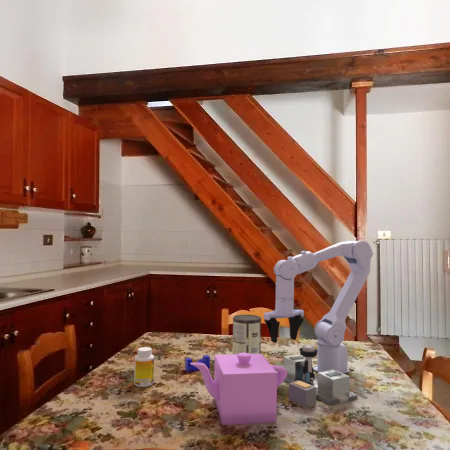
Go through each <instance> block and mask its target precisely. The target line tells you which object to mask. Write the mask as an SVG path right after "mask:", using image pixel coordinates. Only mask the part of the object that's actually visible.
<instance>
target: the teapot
mask: <svg viewBox="0 0 450 450" xmlns="http://www.w3.org/2000/svg"><path fill="white" fill-rule="evenodd" d="M190 364H191V365H193V366H195V367H197V368H198V369H199V370H198V371H200V373H201V375H202V379H203V382H204V386H205V389H206V390H207V393H208V394H209V395H210V396H211V397H212V398H213V399H214V402H215V406H216V409H217V412H218V416H219V418H220V422H221V425H222V426H228V425H229V426H230V425H248V424H251V425H252V424H268V423H277V407H278V406H277V402H278V399H277V397H278V395H277V394H278V387H280V386H281V384H282V383H283V382H285V381H284V380H285V378H286V377H287V373H288V372H287V370H286V369H285V368H284V367H283V366H281V365H276V364H275V365H274V364H270V362H269V361H268V360H267V358H266V357H265V356H264V355H263V354H262V353H261V354H249V353H239V354H233V353H232V354H215V355H214V379H213V378H212V375H211V373H210V372H211V371H210V370H209V369H210V368H208V367H207V366H206V365H205V364H203V363H198V362H197V361H196V362H193V363H190ZM277 372H278V375H277Z"/></svg>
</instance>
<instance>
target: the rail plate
mask: <svg viewBox="0 0 450 450" xmlns="http://www.w3.org/2000/svg"><path fill="white" fill-rule="evenodd" d="M282 358H283V360H282V367H284V368H285V369H286V370H287V372H288V373H287V377H286V378H285V380H284V381H283V382H286V383H288V384H289V383H292V382H295V381H298V380H300V381H302V382H305V383H307V382H306V380H305V379H304V378H303V367H304V364H305V358H304V357H303V356H302V355H300V353H297V354H291V355H285V356H282ZM276 373H277V375H278V372H277V371H276ZM350 378H351V376H350V375H348V374H347V373H341V372H339V371H336V370H329V371H324V372H317V374H315V379H314V383H307V384H310V385H312V386H315V387H316V400H317V399H318V400H319V401H321V402H323V403H324V404H326V405H328V406H333V405H337V404H342V403H345V402H348V401H353V400H357V399H359V398H358V397H359V396H358V394H357V393H355V392H353V391H351V390H350V383H351V382H350V381H351V379H350ZM303 379H304V380H303Z"/></svg>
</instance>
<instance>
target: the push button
mask: <svg viewBox="0 0 450 450" xmlns="http://www.w3.org/2000/svg"><path fill="white" fill-rule="evenodd" d="M298 350H299V355H302V356H303V357H304V358H305V364H304V367H303V378H304V379H305V380H306V382H307V383H314V379H315V375H316V374H315V372H314V371H315V370H314V368H313V367H314V366H313V358H315V357H317V352H318V350H317V348H315V346H314V345H311V344H303V345H302V347H300V348H299V349H298ZM304 379H303V380H304Z"/></svg>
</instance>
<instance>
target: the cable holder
mask: <svg viewBox="0 0 450 450" xmlns="http://www.w3.org/2000/svg"><path fill="white" fill-rule="evenodd" d="M196 362H198V363H203V364H205V365H206V366H207V367H208V369H210V367H211V357H210V356H209V355H208V354H205V355H202V358H199V359H198V360H197V361H196ZM190 363H194V362H193V359H192V358H191V357H186V358H184V371H185V370H186V371H185V372H187V373H191V372H195V371H200V370H199V369H198V368H197V367H195V366H193V365H191V364H190Z"/></svg>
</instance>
